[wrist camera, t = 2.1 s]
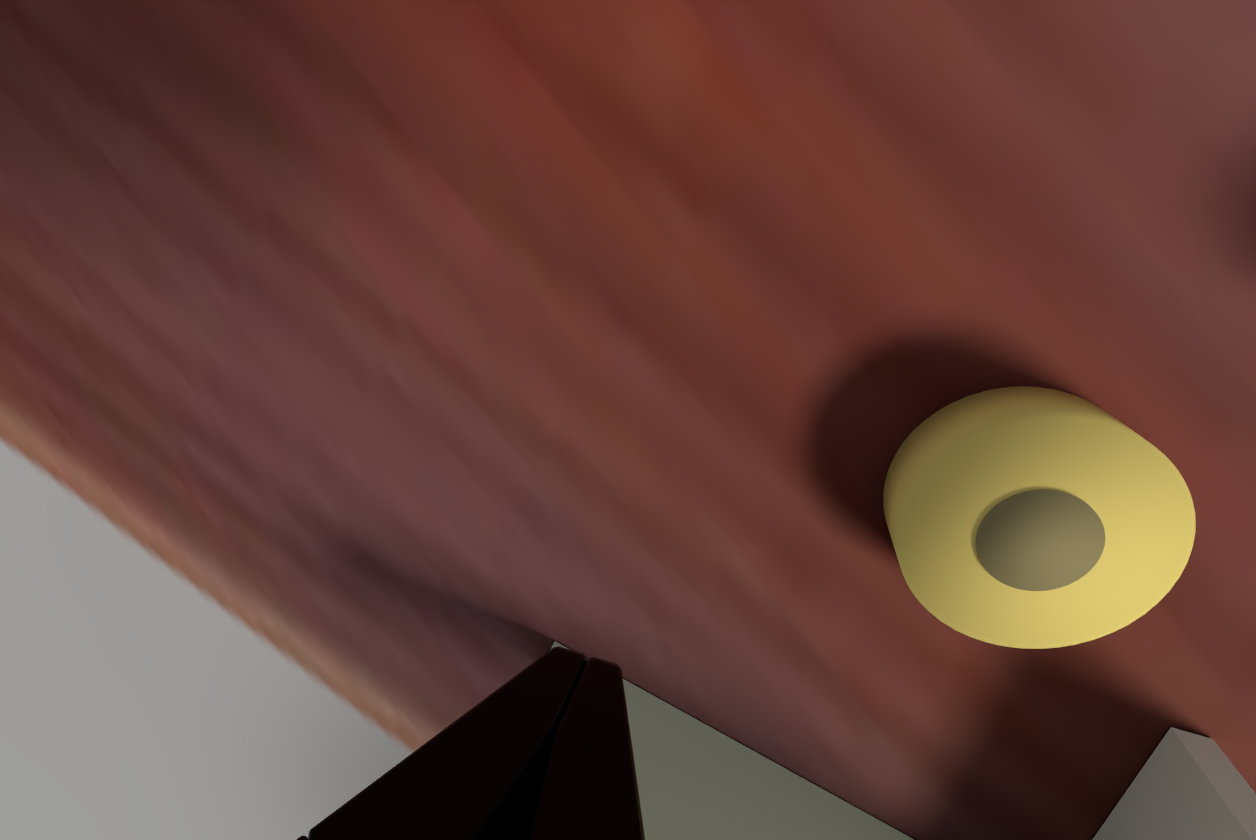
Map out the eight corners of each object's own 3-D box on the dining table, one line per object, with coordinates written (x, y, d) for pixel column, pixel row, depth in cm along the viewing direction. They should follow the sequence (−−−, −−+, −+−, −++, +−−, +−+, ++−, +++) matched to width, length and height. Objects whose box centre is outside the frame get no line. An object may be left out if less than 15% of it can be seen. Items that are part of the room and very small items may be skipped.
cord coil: (1077, 622, 16) (1117, 681, 14) (853, 561, 17) (863, 610, 15) (1192, 420, 14) (1258, 459, 12) (929, 361, 15) (952, 387, 13)
